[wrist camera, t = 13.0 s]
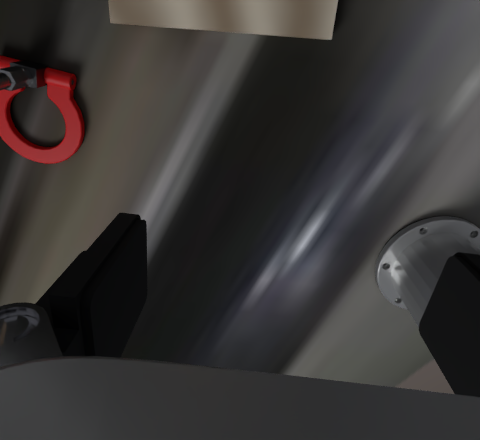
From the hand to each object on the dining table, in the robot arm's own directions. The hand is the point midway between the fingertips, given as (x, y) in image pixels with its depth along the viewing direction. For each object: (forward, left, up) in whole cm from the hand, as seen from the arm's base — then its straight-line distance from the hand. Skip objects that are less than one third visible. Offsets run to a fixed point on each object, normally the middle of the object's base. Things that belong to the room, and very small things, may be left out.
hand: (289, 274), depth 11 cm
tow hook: (+21, +1, -25) cm, 32 cm away
